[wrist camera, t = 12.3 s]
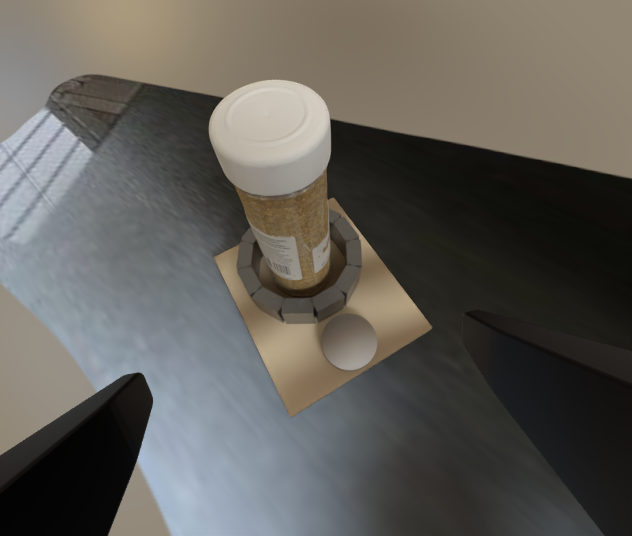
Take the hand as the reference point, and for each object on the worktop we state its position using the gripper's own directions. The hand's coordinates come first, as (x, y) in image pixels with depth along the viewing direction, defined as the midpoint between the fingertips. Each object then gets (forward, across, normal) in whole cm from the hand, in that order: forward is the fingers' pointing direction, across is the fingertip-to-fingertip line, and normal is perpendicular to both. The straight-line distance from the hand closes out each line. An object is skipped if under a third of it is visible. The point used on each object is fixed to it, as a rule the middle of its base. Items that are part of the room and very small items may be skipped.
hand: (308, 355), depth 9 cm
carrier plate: (+14, -1, +5) cm, 15 cm away
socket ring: (+15, 0, +3) cm, 16 cm away
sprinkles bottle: (+15, 0, +3) cm, 15 cm away
